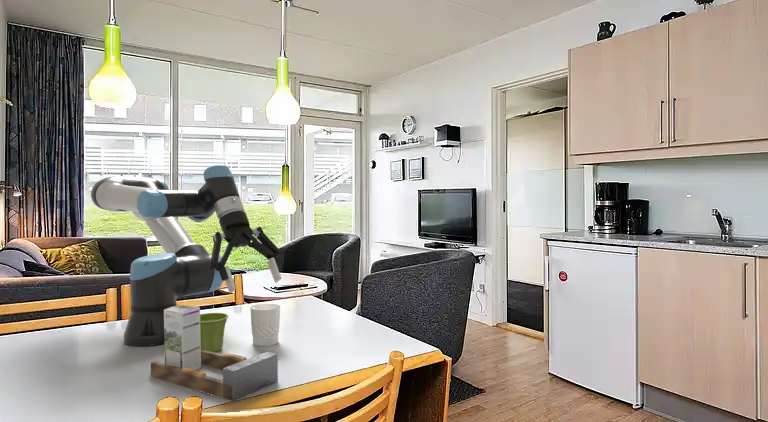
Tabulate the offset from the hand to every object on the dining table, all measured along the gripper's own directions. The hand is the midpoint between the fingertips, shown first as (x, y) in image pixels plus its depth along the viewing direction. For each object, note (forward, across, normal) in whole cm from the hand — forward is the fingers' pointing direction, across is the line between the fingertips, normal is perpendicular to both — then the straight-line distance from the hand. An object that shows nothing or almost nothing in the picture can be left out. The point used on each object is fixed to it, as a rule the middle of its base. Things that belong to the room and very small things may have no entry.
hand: (256, 285), depth 128 cm
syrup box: (+15, -23, +4) cm, 27 cm away
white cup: (+14, +2, +9) cm, 17 cm away
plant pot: (+11, -12, +12) cm, 20 cm away
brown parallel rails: (+20, -20, -5) cm, 29 cm away
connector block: (+26, -17, -15) cm, 34 cm away
